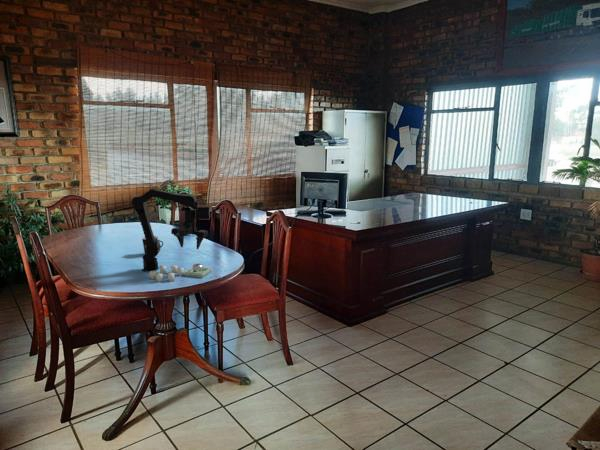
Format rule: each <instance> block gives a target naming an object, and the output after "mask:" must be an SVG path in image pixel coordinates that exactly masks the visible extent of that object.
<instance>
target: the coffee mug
mask: <svg viewBox="0 0 600 450" xmlns="http://www.w3.org/2000/svg"><path fill="white" fill-rule="evenodd" d="M154 238H155V239H156V240H159V242H160V243H162V244H161V248H162V247H163V246H164V241H162V240H160V239H159V238H158V236H155V235H154ZM142 246H143V252H144V254H145V253H146V252H147V251H146V239H145V236H142Z"/></svg>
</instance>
